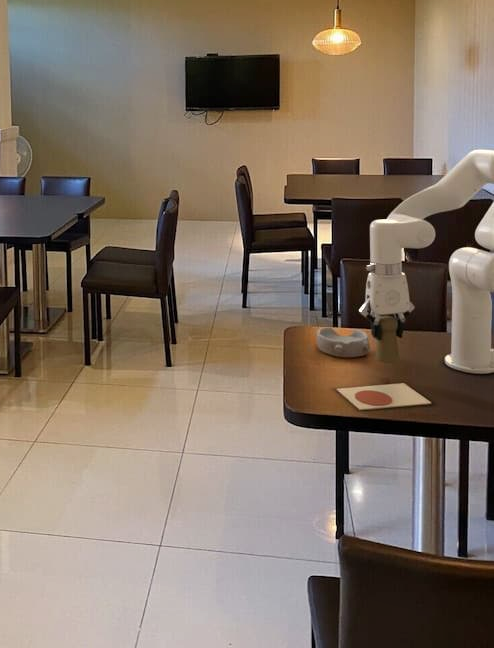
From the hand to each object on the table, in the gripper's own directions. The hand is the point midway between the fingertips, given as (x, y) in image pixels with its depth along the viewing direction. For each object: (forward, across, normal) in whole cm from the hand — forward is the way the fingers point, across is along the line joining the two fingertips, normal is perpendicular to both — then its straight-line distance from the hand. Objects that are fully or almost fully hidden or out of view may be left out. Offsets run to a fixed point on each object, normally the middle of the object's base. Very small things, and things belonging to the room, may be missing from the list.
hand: (387, 336), depth 189 cm
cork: (+6, 0, 0) cm, 6 cm away
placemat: (+10, -8, -12) cm, 18 cm away
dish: (+10, -3, +19) cm, 22 cm away
